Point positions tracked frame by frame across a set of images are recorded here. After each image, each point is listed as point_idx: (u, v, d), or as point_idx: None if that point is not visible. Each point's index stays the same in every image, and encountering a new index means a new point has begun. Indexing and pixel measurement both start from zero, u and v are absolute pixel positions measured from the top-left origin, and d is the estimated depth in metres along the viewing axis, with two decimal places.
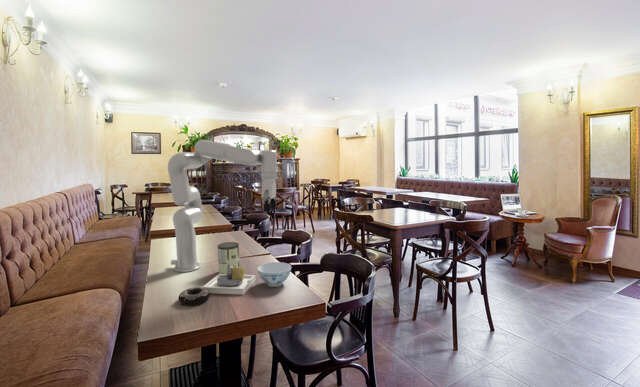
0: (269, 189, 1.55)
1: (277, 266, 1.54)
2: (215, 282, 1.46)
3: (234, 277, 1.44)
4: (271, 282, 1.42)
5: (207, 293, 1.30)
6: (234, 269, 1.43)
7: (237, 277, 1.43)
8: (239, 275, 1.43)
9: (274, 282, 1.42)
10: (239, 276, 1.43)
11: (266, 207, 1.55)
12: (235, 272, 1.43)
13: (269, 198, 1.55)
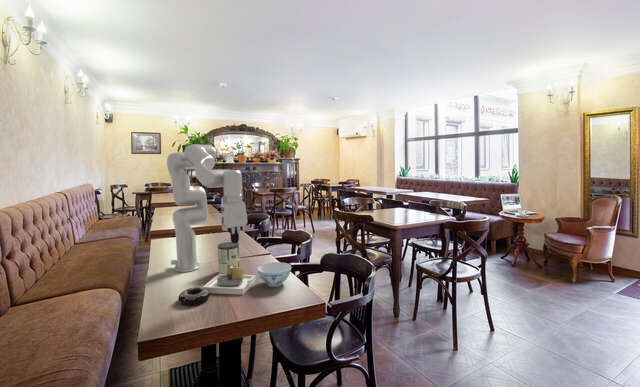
0: None
1: (277, 266, 1.54)
2: (215, 282, 1.46)
3: (234, 277, 1.44)
4: (271, 282, 1.42)
5: (207, 293, 1.30)
6: (234, 269, 1.43)
7: (237, 277, 1.43)
8: (239, 275, 1.43)
9: (274, 282, 1.42)
10: (239, 276, 1.43)
11: None
12: (235, 272, 1.43)
13: None
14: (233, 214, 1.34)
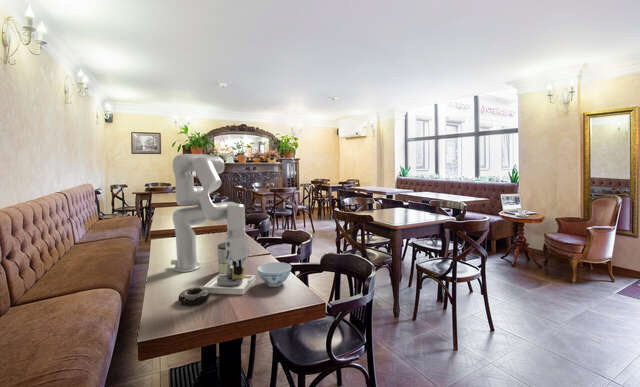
0: None
1: (277, 266, 1.54)
2: (215, 282, 1.46)
3: (234, 277, 1.44)
4: (271, 282, 1.42)
5: (207, 293, 1.30)
6: None
7: (237, 277, 1.44)
8: (239, 275, 1.44)
9: (274, 282, 1.42)
10: (239, 276, 1.44)
11: None
12: None
13: None
14: (238, 247, 1.37)
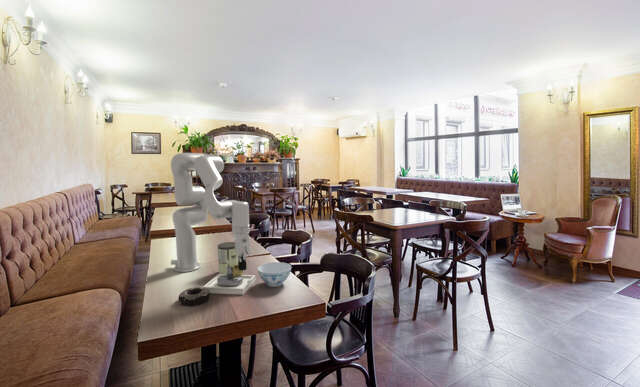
0: None
1: (277, 266, 1.54)
2: (215, 282, 1.46)
3: (235, 275, 1.46)
4: (271, 282, 1.42)
5: (207, 293, 1.30)
6: (235, 267, 1.46)
7: (237, 274, 1.47)
8: (239, 272, 1.47)
9: (274, 282, 1.42)
10: (239, 273, 1.48)
11: None
12: (236, 270, 1.46)
13: None
14: None
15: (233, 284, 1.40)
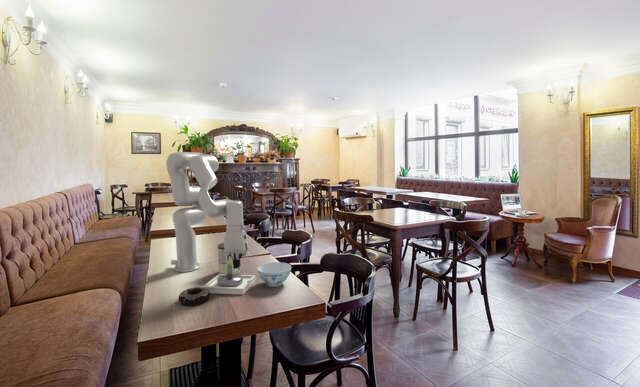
0: None
1: (277, 266, 1.54)
2: (215, 282, 1.46)
3: None
4: (271, 282, 1.42)
5: (207, 293, 1.30)
6: (231, 266, 1.47)
7: None
8: None
9: (274, 282, 1.42)
10: None
11: None
12: None
13: (225, 251, 1.49)
14: None
15: (241, 281, 1.44)
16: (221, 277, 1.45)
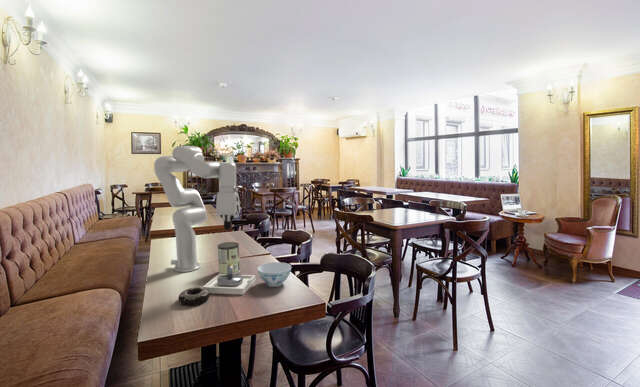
0: None
1: (277, 266, 1.54)
2: (215, 282, 1.46)
3: None
4: (271, 282, 1.42)
5: (207, 293, 1.30)
6: (231, 266, 1.47)
7: None
8: None
9: (274, 282, 1.42)
10: None
11: None
12: None
13: (217, 212, 1.50)
14: None
15: (241, 281, 1.44)
16: (221, 277, 1.45)
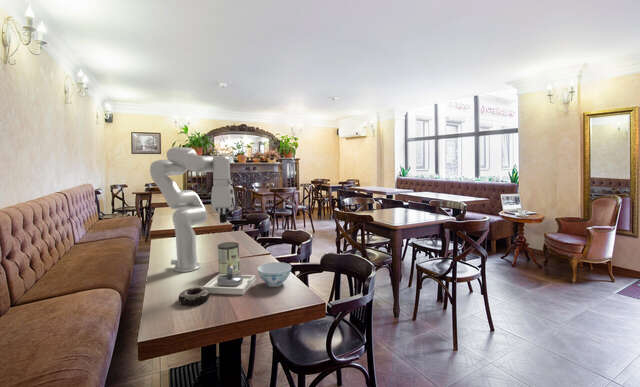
0: None
1: (277, 266, 1.54)
2: (215, 282, 1.46)
3: None
4: (271, 282, 1.42)
5: (207, 293, 1.30)
6: (231, 266, 1.47)
7: None
8: None
9: (274, 282, 1.42)
10: None
11: None
12: None
13: None
14: None
15: (241, 281, 1.44)
16: (221, 277, 1.45)
